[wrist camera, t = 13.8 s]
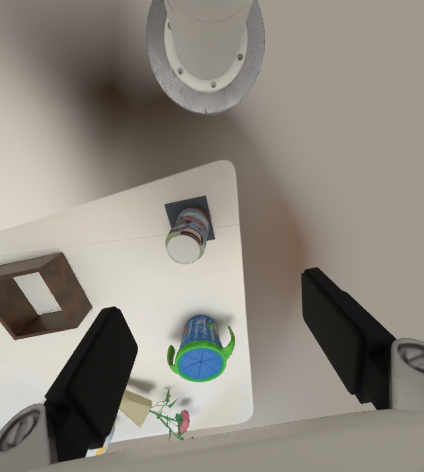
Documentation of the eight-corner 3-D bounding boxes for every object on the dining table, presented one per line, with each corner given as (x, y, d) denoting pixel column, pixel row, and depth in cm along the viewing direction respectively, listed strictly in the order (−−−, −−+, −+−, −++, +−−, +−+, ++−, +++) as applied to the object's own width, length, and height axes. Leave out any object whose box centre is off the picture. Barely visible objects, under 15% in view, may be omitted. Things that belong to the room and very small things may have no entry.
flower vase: (112, 337, 60) (211, 398, 60) (90, 372, 59) (189, 433, 60) (89, 361, 48) (211, 438, 48) (61, 405, 48) (184, 482, 48)
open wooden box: (0, 265, 41) (-32, 282, 36) (62, 252, 41) (40, 267, 35) (36, 318, 47) (14, 340, 41) (92, 307, 46) (77, 327, 41)
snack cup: (226, 302, 47) (232, 338, 38) (235, 333, 51) (243, 373, 42) (163, 317, 48) (154, 357, 39) (178, 347, 52) (172, 390, 43)
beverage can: (216, 217, 39) (221, 240, 28) (193, 244, 41) (190, 276, 30) (189, 197, 38) (184, 214, 26) (168, 226, 39) (154, 254, 28)
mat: (164, 204, 38) (164, 204, 38) (205, 195, 38) (205, 196, 38) (177, 246, 42) (177, 247, 41) (214, 238, 41) (214, 239, 41)
